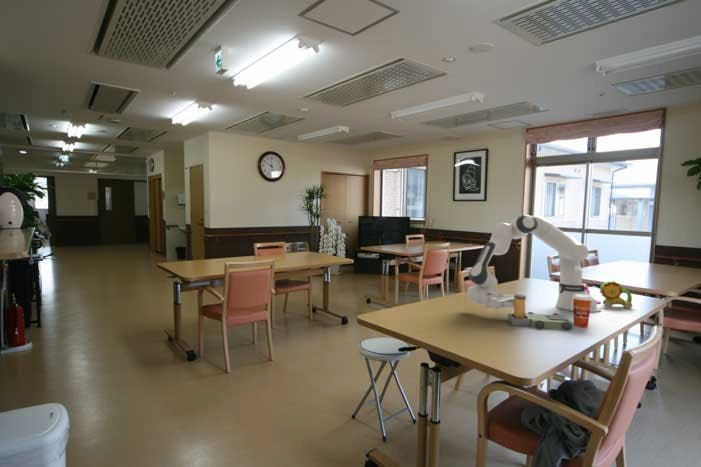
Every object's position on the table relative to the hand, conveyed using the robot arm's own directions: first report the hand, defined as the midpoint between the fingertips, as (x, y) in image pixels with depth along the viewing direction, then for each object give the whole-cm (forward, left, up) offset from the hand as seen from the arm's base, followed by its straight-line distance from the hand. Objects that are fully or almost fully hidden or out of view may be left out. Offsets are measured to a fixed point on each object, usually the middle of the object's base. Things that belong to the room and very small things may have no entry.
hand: (519, 304), depth 194 cm
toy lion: (-66, -46, -10) cm, 81 cm away
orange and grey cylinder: (0, 0, -10) cm, 10 cm away
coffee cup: (-30, -2, -10) cm, 32 cm away
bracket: (-57, -57, -10) cm, 81 cm away
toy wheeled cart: (-14, 0, -10) cm, 17 cm away
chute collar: (0, 0, -10) cm, 10 cm away
